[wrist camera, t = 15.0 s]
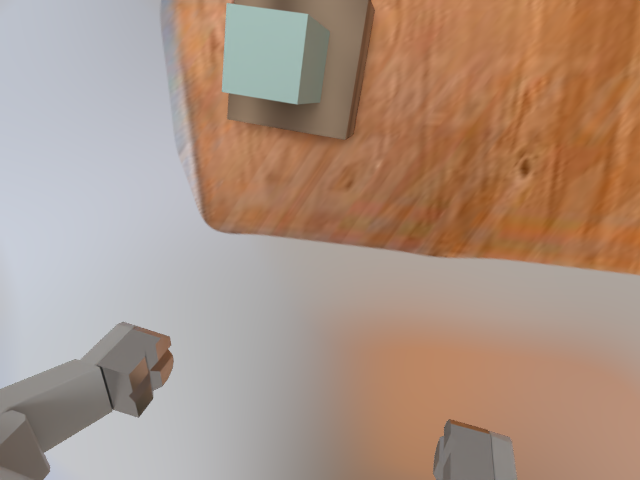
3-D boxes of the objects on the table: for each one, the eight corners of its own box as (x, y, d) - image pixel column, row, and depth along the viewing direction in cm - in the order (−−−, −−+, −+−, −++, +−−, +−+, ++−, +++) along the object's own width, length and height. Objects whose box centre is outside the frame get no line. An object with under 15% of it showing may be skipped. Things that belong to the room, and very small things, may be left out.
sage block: (329, 31, 30) (308, 14, 23) (320, 102, 32) (297, 104, 25) (265, 22, 31) (226, 3, 24) (259, 92, 32) (221, 91, 26)
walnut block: (374, 10, 33) (369, -4, 29) (353, 134, 37) (345, 139, 32) (258, -5, 35) (235, -21, 30) (249, 116, 38) (227, 119, 34)
